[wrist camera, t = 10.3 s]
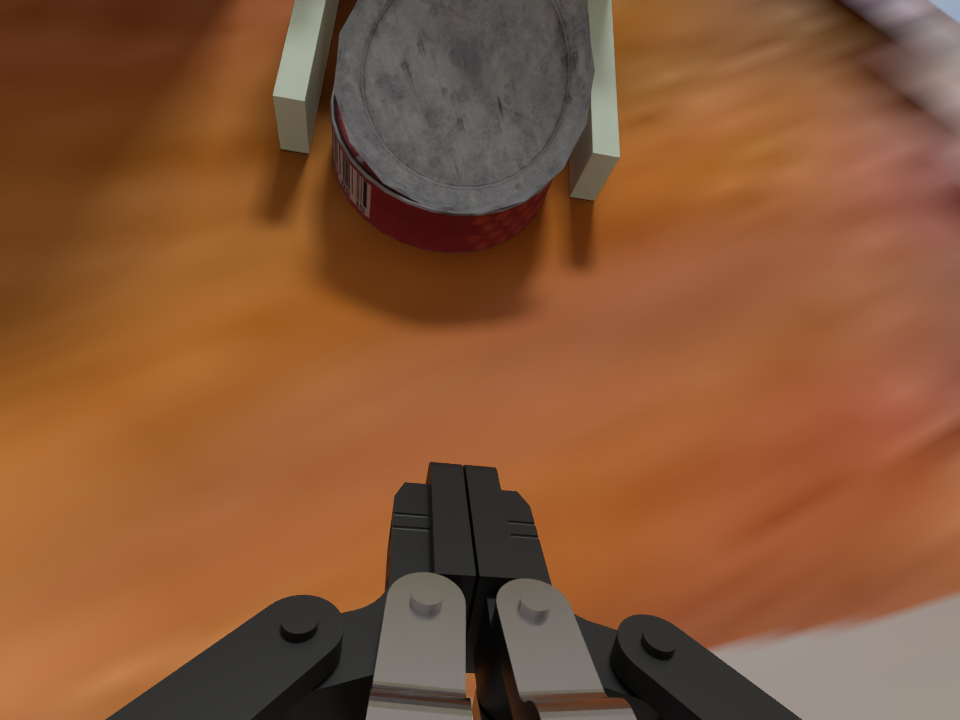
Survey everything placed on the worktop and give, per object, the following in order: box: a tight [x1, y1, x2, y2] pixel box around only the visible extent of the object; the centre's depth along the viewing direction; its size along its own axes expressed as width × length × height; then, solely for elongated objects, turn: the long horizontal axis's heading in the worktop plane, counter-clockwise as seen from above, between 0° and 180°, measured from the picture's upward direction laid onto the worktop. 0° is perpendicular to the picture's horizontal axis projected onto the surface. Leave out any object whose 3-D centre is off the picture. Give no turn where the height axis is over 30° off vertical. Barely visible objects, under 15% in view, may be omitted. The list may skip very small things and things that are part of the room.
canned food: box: [330, 0, 595, 253], centre depth 25 cm, size 11×10×10 cm
